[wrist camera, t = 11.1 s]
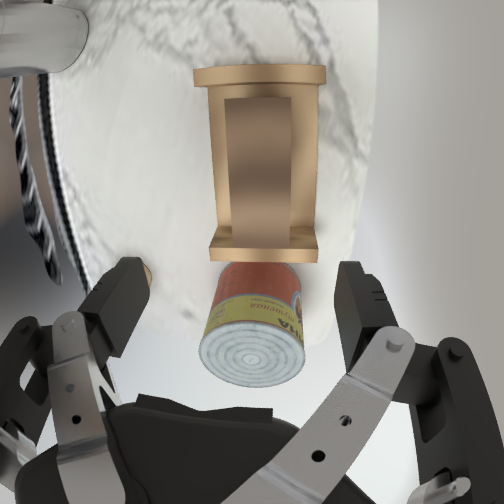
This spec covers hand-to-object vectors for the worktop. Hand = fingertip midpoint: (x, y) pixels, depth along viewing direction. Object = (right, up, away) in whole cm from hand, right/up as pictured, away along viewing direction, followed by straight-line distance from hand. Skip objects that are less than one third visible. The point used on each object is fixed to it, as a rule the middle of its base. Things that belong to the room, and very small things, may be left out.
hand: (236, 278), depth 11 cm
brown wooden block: (+2, +9, +15) cm, 17 cm away
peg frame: (+2, +11, +18) cm, 22 cm away
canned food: (+2, -4, +28) cm, 28 cm away
